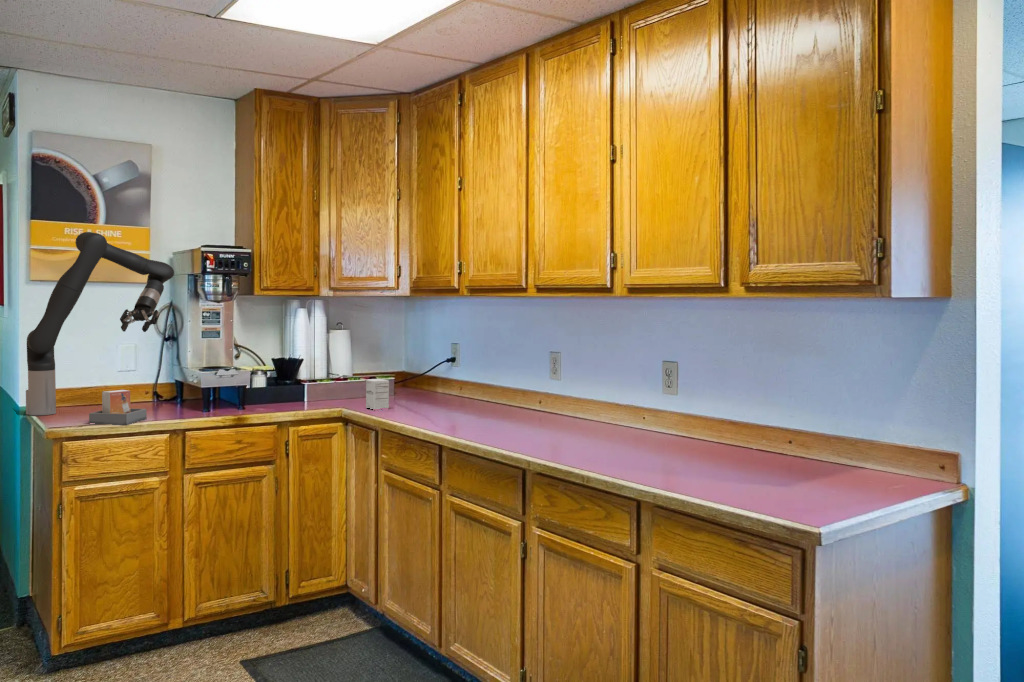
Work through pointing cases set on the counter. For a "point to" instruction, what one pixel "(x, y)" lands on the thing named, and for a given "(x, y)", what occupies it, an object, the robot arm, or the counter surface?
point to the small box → (116, 401)
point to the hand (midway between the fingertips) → (133, 330)
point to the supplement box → (377, 393)
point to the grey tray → (118, 417)
